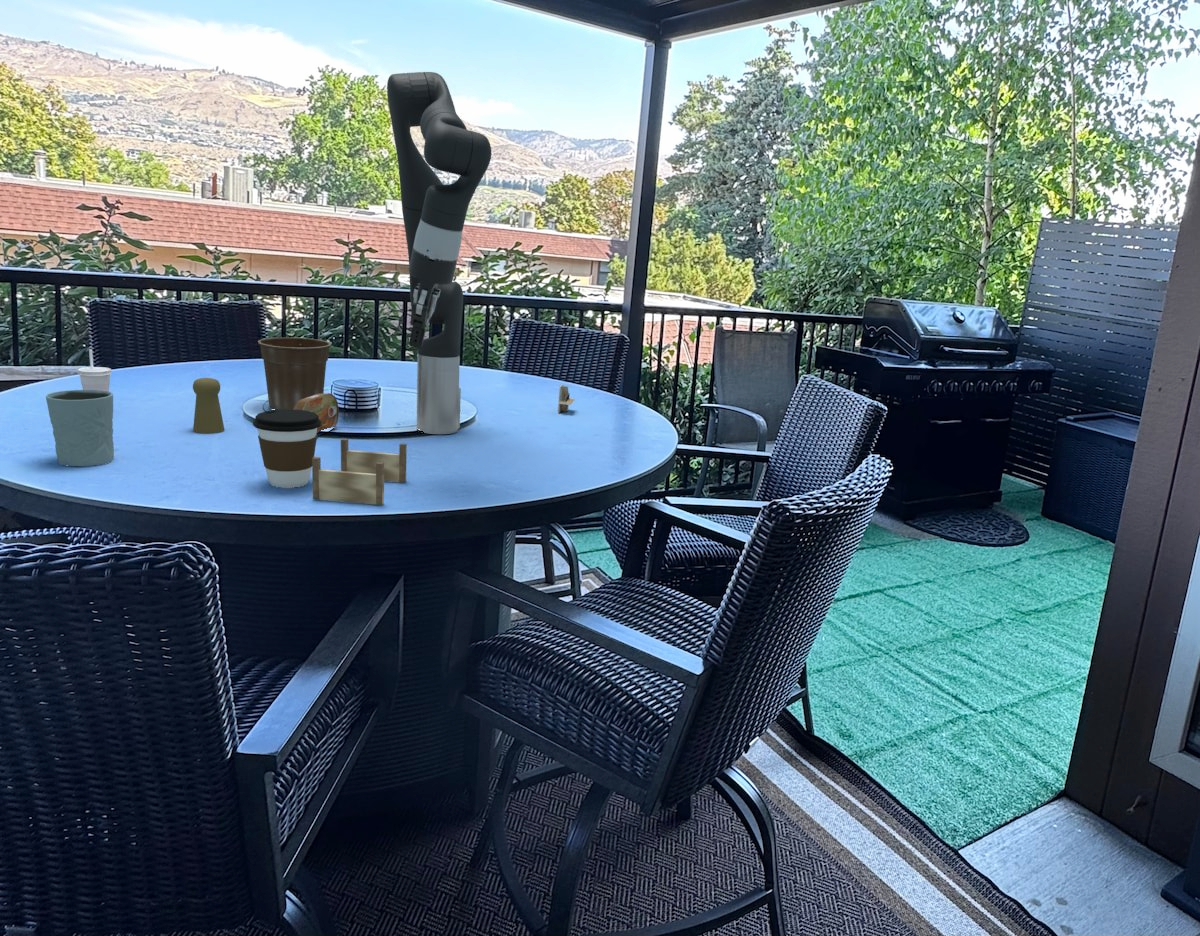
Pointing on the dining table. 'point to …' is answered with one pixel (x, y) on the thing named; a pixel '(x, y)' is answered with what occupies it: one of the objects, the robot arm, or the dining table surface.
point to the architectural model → (564, 399)
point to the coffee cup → (287, 445)
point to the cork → (207, 407)
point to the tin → (321, 409)
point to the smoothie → (95, 376)
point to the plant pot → (293, 369)
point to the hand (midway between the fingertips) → (415, 345)
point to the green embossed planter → (82, 426)
